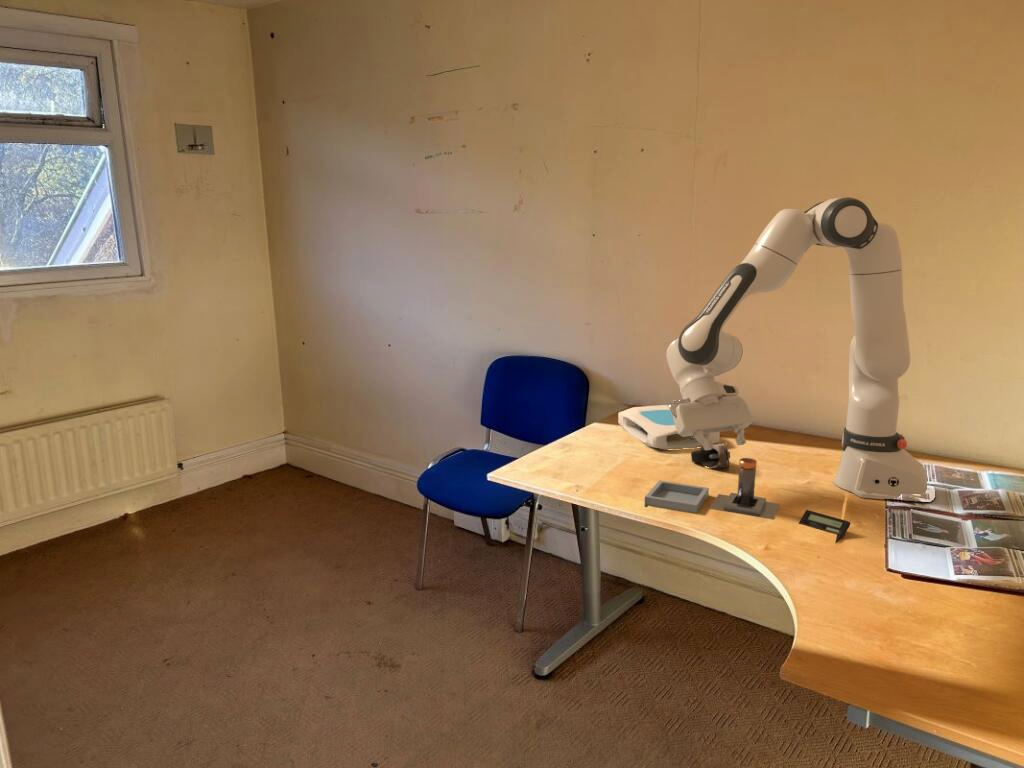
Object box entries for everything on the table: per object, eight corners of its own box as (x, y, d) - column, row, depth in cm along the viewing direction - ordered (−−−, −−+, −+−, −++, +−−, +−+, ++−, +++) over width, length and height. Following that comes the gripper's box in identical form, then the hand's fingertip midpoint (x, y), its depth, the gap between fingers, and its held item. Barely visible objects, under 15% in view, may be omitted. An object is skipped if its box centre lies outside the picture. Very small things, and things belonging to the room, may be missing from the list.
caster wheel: (692, 467, 206) (729, 464, 204) (693, 472, 195) (732, 468, 193) (689, 443, 206) (726, 439, 204) (690, 446, 195) (729, 443, 193)
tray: (708, 497, 177) (708, 487, 176) (696, 515, 166) (696, 505, 166) (659, 489, 182) (659, 480, 181) (644, 506, 172) (644, 496, 171)
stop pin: (754, 504, 171) (757, 459, 168) (751, 510, 167) (755, 464, 165) (738, 502, 172) (741, 457, 170) (735, 507, 169) (738, 461, 167)
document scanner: (653, 453, 211) (654, 432, 210) (617, 426, 238) (617, 407, 236) (720, 446, 216) (721, 426, 215) (677, 421, 243) (678, 403, 241)
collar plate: (779, 506, 171) (780, 498, 171) (773, 521, 163) (774, 514, 162) (718, 496, 177) (718, 489, 177) (709, 511, 169) (709, 503, 168)
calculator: (781, 537, 155) (782, 524, 155) (806, 521, 163) (807, 509, 163) (826, 551, 149) (827, 537, 148) (849, 534, 157) (850, 521, 156)
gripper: (672, 394, 174) (695, 445, 168) (742, 386, 182) (767, 435, 175) (661, 408, 179) (683, 458, 173) (729, 399, 187) (753, 447, 180)
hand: (726, 446), depth 174 cm, fingers open, 8 cm apart
